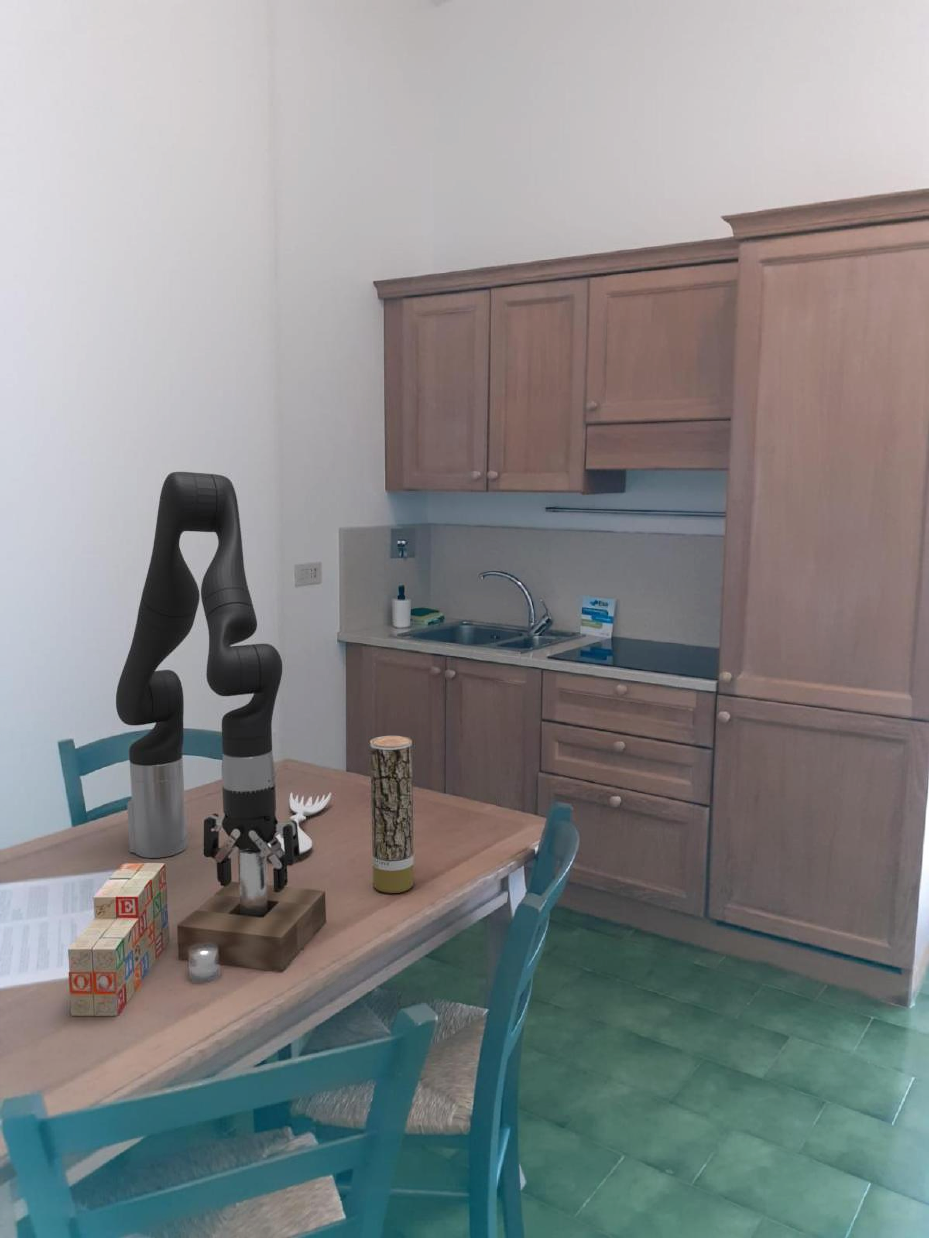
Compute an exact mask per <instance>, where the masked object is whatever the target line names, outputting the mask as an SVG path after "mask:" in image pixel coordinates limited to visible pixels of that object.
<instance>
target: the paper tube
mask: <svg viewBox="0 0 929 1238" xmlns="http://www.w3.org/2000/svg"><path fill="white" fill-rule="evenodd" d="M412 741H413V740H412V739H411V738H409V737H407V736H402V735H401V736H400V735H384V736H379V737H375V738H372V739H371V740H370V743H369V751H370V752H369V755H370V793H371V795H370V799H371V801H370V802H371V804H370V805H371V806H370V807H371V844H372V846H371V847H372V848H371V849H372V850H371V851H372V853H371V854H372V879H373V880H372V883H373V884H372V885H373V886H374V888H375V889H376V890H377V891H379V892H381V893H385V894H400V893H403V892H407V891H409V890H410V889H411V888H412V887H413V886H414V882H415V879H414V878H415V877H414V875H415V872H414V869H415V865H414V862H415V861H414V859H415V857H414V809H413V808H414V805H413V804H414V801H413V800H414V799H413V798H414V797H413V796H414V795H413V794H414V793H413V792H414V791H413V787H414V786H413V742H412Z"/></svg>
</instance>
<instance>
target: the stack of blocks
mask: <svg viewBox="0 0 929 1238" xmlns="http://www.w3.org/2000/svg"><path fill="white" fill-rule="evenodd" d="M166 872H167V871H166V863H165V862H145V863H144V862H136V863H134V862H133V863H130V862H128V863H123V864H122V865H121V866H120V867H119V868H118V869H117V870H115V871H114V872H113V873H112V874H111V876H110V877H109V879H107V880H106V881H105V883H103V885H102V886H101V887H100V889H99V890H98V891H97V892H96V893H95V895H94V896H93V914H94V915H93V916H94V919H92V920H91V922H90V923H88V926H87V927H86V928H84V929H83V930H82V932H81V933H80V934H79V935H78V936H77V937H76V939H75V940H74V942H73V943H71V945H70V946H69V947H68V949H67V952H68V953H67V954H68V955H67V957H68V970H69V971H68V986H69V990H68V991H69V999H70V1014H71V1016H72V1017H75V1016H77V1017H78V1016H79V1017H82V1016H83V1017H91V1016H92V1017H93V1016H95V1017H107V1016H108V1017H111V1016H112V1017H116V1016H119V1014H120V1013H121V1012H122V1009H124V1007H125V1005H126V1004H127V1003H128V1002H129V1001H130V999H131V997H132V996H133V995H134V993H135V991H136V990H137V989H138V987H140V984H141V983H142V981H143V979H144V978H145V976H146V975H147V973H148V972H149V970H150V968H152V966H153V964H154V962H155V961H156V960H157V959H158V958H159V956H160V954H161V953H162V952H163V950H164V949H165V948H166V946H167V944H168V943H169V942H170V929H169V928H170V927H169V924H170V923H169V915H168V914H169V913H168V886H167V885H168V884H167V873H166Z"/></svg>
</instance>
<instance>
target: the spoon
mask: <svg viewBox="0 0 929 1238" xmlns="http://www.w3.org/2000/svg"><path fill="white" fill-rule="evenodd" d="M325 797H326V798H325ZM331 799H332V792H329V793H328V795H327V796H326V795H325V794H323V796H322V797H321V799H320V796H319V795H318V796H316V800H315V801H314V803H313V797H312V796H310V797H308V799H307V801H306V803H304V802H305V796H304V795H302V797H301V799H300V802H299V794H296V796H295V798H294V795H293V792H290V794H289V808H290V810H291V811H292V812H293V813H294V814H295V815H291V816H290V817H289V820H290V821H292V820H294V821H296V823H297V828H298V839H299V851H300V855H302V854H304V853H306V852H308V851H309V850H310V849H311V848H312V846H313V840H312V838H310V837H309V835H308V834H306V833H305V831H303V830H302V828H301V827H300V826H299V823H300V822H304V821H306V820H307V817H308V816H312V815H316V814H317V813H319V812H321V811H322V810H323V809H324V808H325V807H326V805H327V804H328V803H329V802H330V800H331ZM306 816H307V817H306ZM275 836H276V837H277V839H278V840H279V842H280V843H281V847H282V849H283V850H284V840H283V838H281V835H280V833H279V834H277V835H275ZM268 845H269V847H271V845H270V843H268ZM284 852H285V851H284Z"/></svg>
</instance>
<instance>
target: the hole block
mask: <svg viewBox="0 0 929 1238" xmlns="http://www.w3.org/2000/svg"><path fill="white" fill-rule="evenodd" d="M267 897H268V913H267V914H266V915H265V916H264V917H263V918H261V917H252V916H243V915H240V890H239V881H232V880H231V883H230V884H228V885H227V886H222V887H221V888H220V889H219V890H218V891H216V892H215V893H214V894H213V895H211V896H210V898H208V899H207V900H206V901H205V902H203V903H202V904H201V905H200V906H198V907H197V908H196V909H195V910H194V911H193V912H192V913H190V914H189V915H188V916H186V917H185V918H184V919H183V920H182V921H181V922H180V923H178V924H177V925H176V930H177V931H176V932H177V933H176V934H177V951H178V959H179V960H187V961H189V955H188V950H189V948H190V947H191V946H193V945H195V944H197V943H201V942H213V943H216V944H217V945H218V949H219V965H225V966H234V967H242V968H250V969H259V970H266V971H267V970H268V971H272V972H273V971H275V972H284V970H286V969H287V967H288V966H289V965H290V963H292V962H293V960H294V959H295V958H296V957H297V956H298V954H299V953H301V952H302V950H303V949H304V947H306V945H307V944H308V943H309V942H310V941H311V939H312V938H313V937H314V936H315V935H316V934H317V933H318V932H319V931H320V929H321V928H322V927H323V926H324V925H325V924H326V922H327V913H326V912H327V910H326V909H327V908H326V890H320V889H311V888H310V889H309V888H300V887H293V886H291V887H290V886H285V887H284V889H283V890H282V891H280V892H274V885H270V884H267Z"/></svg>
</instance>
